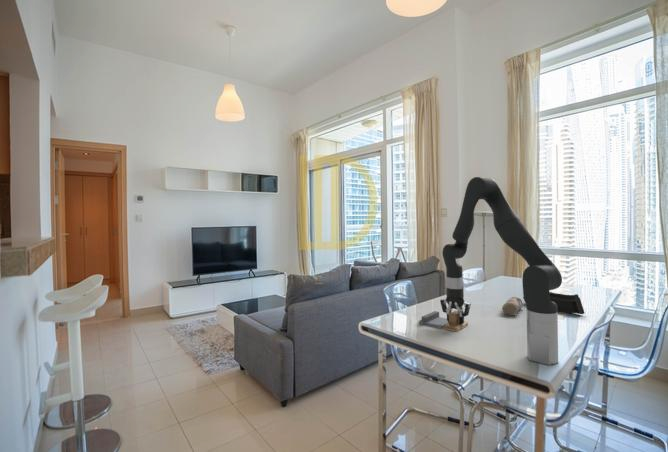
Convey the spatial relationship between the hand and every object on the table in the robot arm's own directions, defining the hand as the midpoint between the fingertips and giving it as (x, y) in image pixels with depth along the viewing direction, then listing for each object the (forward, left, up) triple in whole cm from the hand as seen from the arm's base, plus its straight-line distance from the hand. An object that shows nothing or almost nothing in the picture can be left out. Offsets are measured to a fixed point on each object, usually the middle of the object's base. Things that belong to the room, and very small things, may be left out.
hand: (455, 323), depth 149 cm
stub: (0, 0, -2) cm, 2 cm away
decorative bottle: (+47, -12, -2) cm, 48 cm away
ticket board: (0, +10, -2) cm, 10 cm away
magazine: (+62, -26, -2) cm, 67 cm away
